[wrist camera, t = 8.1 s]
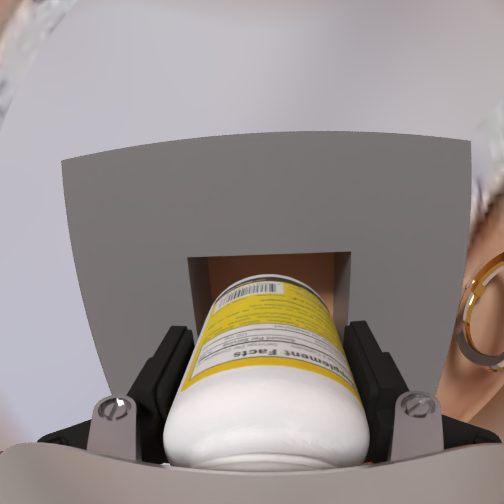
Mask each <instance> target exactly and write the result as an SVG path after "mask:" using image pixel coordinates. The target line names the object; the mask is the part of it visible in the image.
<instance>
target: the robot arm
mask: <svg viewBox="0 0 504 504" xmlns="http://www.w3.org/2000/svg"><path fill="white" fill-rule="evenodd" d="M194 348H195V344H194V338H193V332H192V330H188V328H187V326H171V327H170V328H169V330H168V332H167V333H166V335H165V337H164V338H163V340H162V342H161V344H160V345H159V347H158V349H157V350H156V352H155V354H154V355H153V357H150V358H149V359H148V360H147V361H146V363H145V365H144V366H143V368H142V370H141V371H140V373H139V375H138V376H137V378H136V380H135V381H134V383H133V385H132V386H131V388H130V390H129V391H128V393H127V395H126V396H125V395H112V396H108V397H106V398H103V399H102V400H100V401H99V402H98V403H97V404H96V405H95V407H94V410H93V415H92V419H91V420H88V421H85V422H83V423H80V424H77V425H74V426H71V427H69V428H66V429H63V430H59V431H56V432H53V433H50V434H48V435H45V436H43V437H42V438H40V439H39V440H38V441H37V443H21V444H16V445H14V446H11V447H9V448H8V449H6V450H5V451H1V452H0V504H504V443H502V442H501V440H500V438H499V437H498V436H497V435H496V434H495V433H493V432H491V431H489V430H486V429H483V428H480V427H476V426H473V425H471V424H468V423H465V422H462V421H459V420H456V419H453V418H450V417H447V416H445V415H442V414H441V406H440V403H439V401H438V399H437V398H436V397H435V396H433V395H432V394H430V393H427V392H425V391H418V390H417V391H410V390H409V388H408V386H407V385H406V383H405V381H404V379H403V377H402V375H401V373H400V371H399V369H398V368H397V366H396V364H395V362H394V360H393V358H392V356H391V355H390V353H389V352H382V351H381V349H380V347H379V345H378V343H377V341H376V339H375V337H374V335H373V333H372V332H371V330H370V328H369V326H368V324H367V322H366V321H365V320H363V321H351V322H350V324H349V325H347V326H345V329H344V340H343V349H344V352H345V355H346V357H347V360H348V364H349V366H350V369H351V372H352V375H353V378H354V381H355V384H356V387H357V389H358V392H359V395H360V398H361V401H362V404H363V407H364V410H365V414H366V419H367V422H368V426H369V434H370V440H369V449H368V453H367V455H366V458H365V461H364V463H365V462H372V463H374V464H369V465H362V466H354V467H346V468H337V469H327V470H314V471H296V472H233V471H216V470H203V469H192V468H183V467H175V466H167V465H160V464H162V463H169V461H168V459H167V457H166V454H165V450H164V443H163V433H164V428H165V423H166V420H167V417H168V414H169V412H170V409H171V407H172V404H173V402H174V399H175V397H176V394H177V391H178V389H179V386H180V384H181V381H182V379H183V376H184V374H185V371H186V369H187V366H188V363H189V361H190V358H191V356H192V353H193V351H194Z"/></svg>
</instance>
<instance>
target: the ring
mask: <svg viewBox="0 0 504 504" xmlns="http://www.w3.org/2000/svg"><path fill="white" fill-rule="evenodd" d="M502 270H504V252H503V253H501V254H500V255H498V256H496V257H495V258H493V259H492V260H491V261H490V262H488V263H487V264H486V265H485V266H484V267H483V268H482V269H481V270H480V271H479V273H478V274H477V275H476V276H475V277H472V278H471V279H470V280H469V282H468V283H467V286H466V288H467V290H466V291H465V293H464V296H463V298H462V300H461V303H460V306H459V309H458V313H457V318H456V337H457V342H458V345H459V348H460V350H461V352H462V353H463V355H464V356H465V357H466V358H467V359H469V360H470V361H471V362H472V363H474V364H475V365H477V366H479V367H480V368H482V369H484V370H487V371H490V372H503V371H504V352H503V353H501V354H499V355H497V356H488V355H484V354H482V353H480V352H479V351H478V350H477V348H476V347H475V345H474V343H473V341H472V338H471V334H470V317H471V313H472V309H473V307H474V304H475V302H476V300H477V298H480V297H481V296H482V295H483V294H484V292H485V290H486V287H485V286H486V284H487V283H488V282H489V281H490V280H491V279H492V278H493V277H494V276H495V275H496V274H498V273H499V272H500V271H502Z"/></svg>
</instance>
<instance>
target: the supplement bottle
mask: <svg viewBox="0 0 504 504" xmlns="http://www.w3.org/2000/svg"><path fill="white" fill-rule="evenodd" d="M369 440H370V434H369V426H368V422H367V419H366V414H365V410H364V407H363V404H362V401H361V398H360V395H359V392H358V389H357V387H356V384H355V381H354V378H353V375H352V372H351V369H350V366H349V364H348V360H347V357H346V355H345V352H344V349H343V346H342V343H341V341H340V338H339V335H338V332H337V329H336V327H335V324H334V322H333V319H332V317H331V314H330V312H329V310H328V308H327V306H326V304H325V303H324V301H323V300H322V299H321V297H320V296H319V295H318V294H317V293H316V292H315V291H314V290H313V289H311V288H310V287H309V286H307V285H306V284H304V283H302V282H300V281H298V280H296V279H294V278H291V277H288V276H283V275H277V274H262V275H256V276H251V277H248V278H245V279H242V280H240V281H238V282H236V283H234V284H233V285H231V286H229V287H228V288H227V289H226V290H225V291H223V292H222V293H221V294H220V295H219V297H218V298H217V299H216V301H215V302H214V303H213V305H212V307H211V309H210V311H209V313H208V316H207V318H206V320H205V323H204V325H203V328H202V331H201V333H200V336H199V338H198V341H197V343H196V346H195V348H194V351H193V353H192V356H191V358H190V361H189V363H188V366H187V369H186V371H185V374H184V376H183V379H182V381H181V384H180V386H179V389H178V391H177V394H176V397H175V399H174V402H173V404H172V407H171V409H170V412H169V414H168V417H167V420H166V423H165V428H164V433H163V443H164V450H165V454H166V457H167V459H168V461H169V463H170V465H171V466H175V467H183V468H192V469H203V470H216V471H233V472H296V471H314V470H327V469H337V468H346V467H354V466H362V465H363V463H364V461H365V458H366V455H367V453H368V449H369Z"/></svg>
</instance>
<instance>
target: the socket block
mask: <svg viewBox="0 0 504 504" xmlns="http://www.w3.org/2000/svg"><path fill="white" fill-rule="evenodd" d="M61 162H62V176H63V187H64V196H65V205H66V212H67V220H68V227H69V234H70V240H71V246H72V251H73V257H74V262H75V267H76V272H77V277H78V281H79V286H80V290H81V295H82V298H83V303H84V307H85V311H86V315H87V319H88V322H89V326H90V329H91V333H92V336H93V340H94V343H95V347H96V349H97V353H98V356H99V359H100V362H101V365H102V368H103V371H104V374H105V377H106V380H107V383H108V386H109V388H110V391H111V394H112V395H125V396H126V395H127V393H128V391H129V390H130V388H131V386H132V385H133V383H134V381H135V380H136V378H137V376H138V375H139V373H140V371H141V370H142V368H143V366H144V365H145V363H146V361H147V360H148V359H149V358H150V357H153V355H154V354H155V352H156V350H157V349H158V347H159V345H160V344H161V342H162V340H163V338H164V337H165V335H166V333H167V332H168V330H169V328H170V327H171V326H187V328H188V330H192V332H193V338H194V344H195V346H196V343H197V341H198V338H199V336H200V333H201V331H202V328H203V325H204V323H205V320H206V318H207V316H208V313H209V311H210V309H211V307H212V305H213V303H214V302H215V301H216V299H217V298H218V297H219V295H220V294H221V293H222V292H223V291H225V290H226V289H227V288H228V287H229V286H231V285H233V284H234V283H236V282H238V281H240V280H242V279H245V278H248V277H251V276H256V275H262V274H277V275H283V276H288V277H291V278H294V279H296V280H298V281H300V282H302V283H304V284H306V285H307V286H309V287H310V288H311V289H313V290H314V291H315V292H316V293H317V294H318V295H319V296H320V297H321V299H322V300H323V301H324V303H325V304H326V306H327V308H328V310H329V312H330V314H331V317H332V319H333V322H334V324H335V327H336V329H337V332H338V335H339V338H340V341H341V343H342V346H343V340H344V329H345V326H347V325H349V324H350V322H351V321H363V320H365V321H366V322H367V324H368V326H369V328H370V330H371V332H372V333H373V335H374V337H375V339H376V341H377V343H378V345H379V347H380V349H381V351H382V352H389V353H390V355H391V356H392V358H393V360H394V362H395V364H396V366H397V368H398V369H399V371H400V373H401V375H402V377H403V379H404V381H405V383H406V385H407V386H408V388H409V390H410V391H417V390H418V391H425V392H427V393H430V394H432V395H433V396H435V395H436V392H437V388H438V385H439V382H440V379H441V376H442V372H443V369H444V365H445V362H446V358H447V355H448V351H449V347H450V343H451V339H452V335H453V330H454V326H455V322H456V317H457V312H458V307H459V302H460V296H461V290H462V284H463V278H464V271H465V264H466V256H467V247H468V237H469V225H470V210H471V141H467V140H459V139H450V138H442V137H433V136H421V135H410V134H396V133H378V132H350V131H349V132H348V131H299V132H298V131H297V132H269V133H250V134H235V135H222V136H211V137H201V138H193V139H184V140H175V141H167V142H160V143H153V144H146V145H139V146H133V147H127V148H122V149H116V150H110V151H105V152H99V153H95V154H89V155H85V156H80V157H75V158H71V159H66V160H62V161H61Z"/></svg>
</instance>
